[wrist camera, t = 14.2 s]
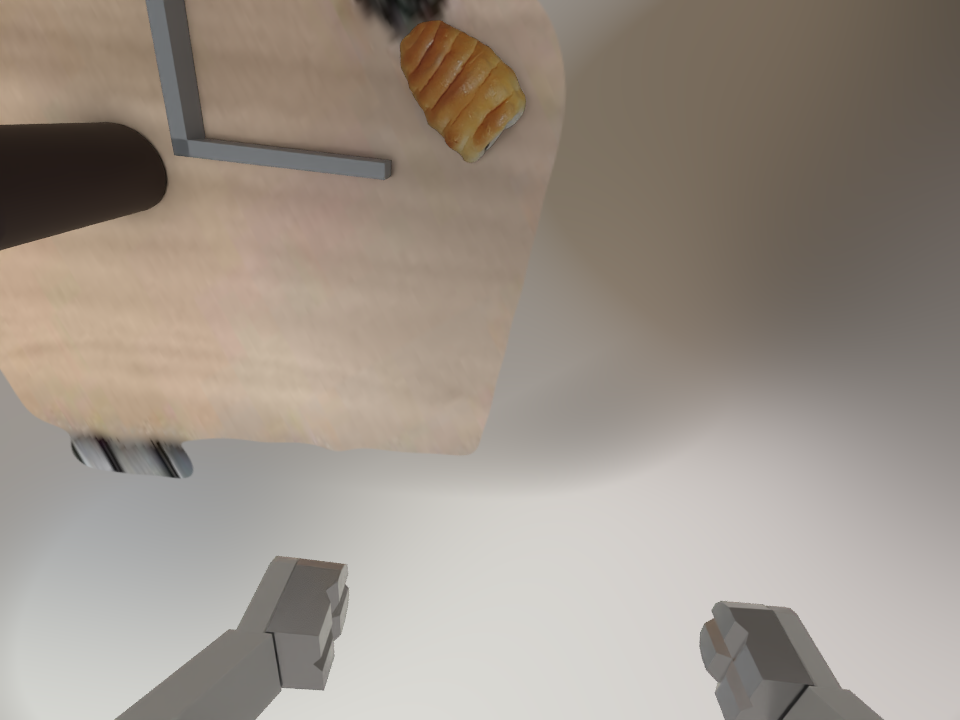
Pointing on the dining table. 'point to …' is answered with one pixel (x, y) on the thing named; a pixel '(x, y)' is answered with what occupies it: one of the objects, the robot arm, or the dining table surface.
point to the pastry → (460, 87)
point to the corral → (187, 116)
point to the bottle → (72, 178)
